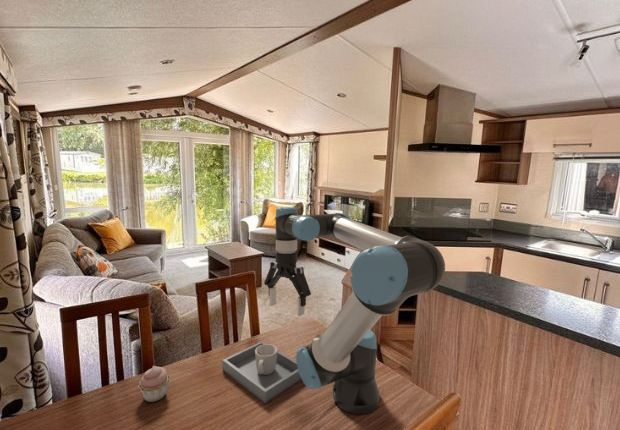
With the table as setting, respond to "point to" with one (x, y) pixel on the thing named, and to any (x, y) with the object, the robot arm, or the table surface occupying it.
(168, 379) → the cupcake
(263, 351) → the cup
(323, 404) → the table surface
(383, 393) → the table surface
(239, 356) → the box
